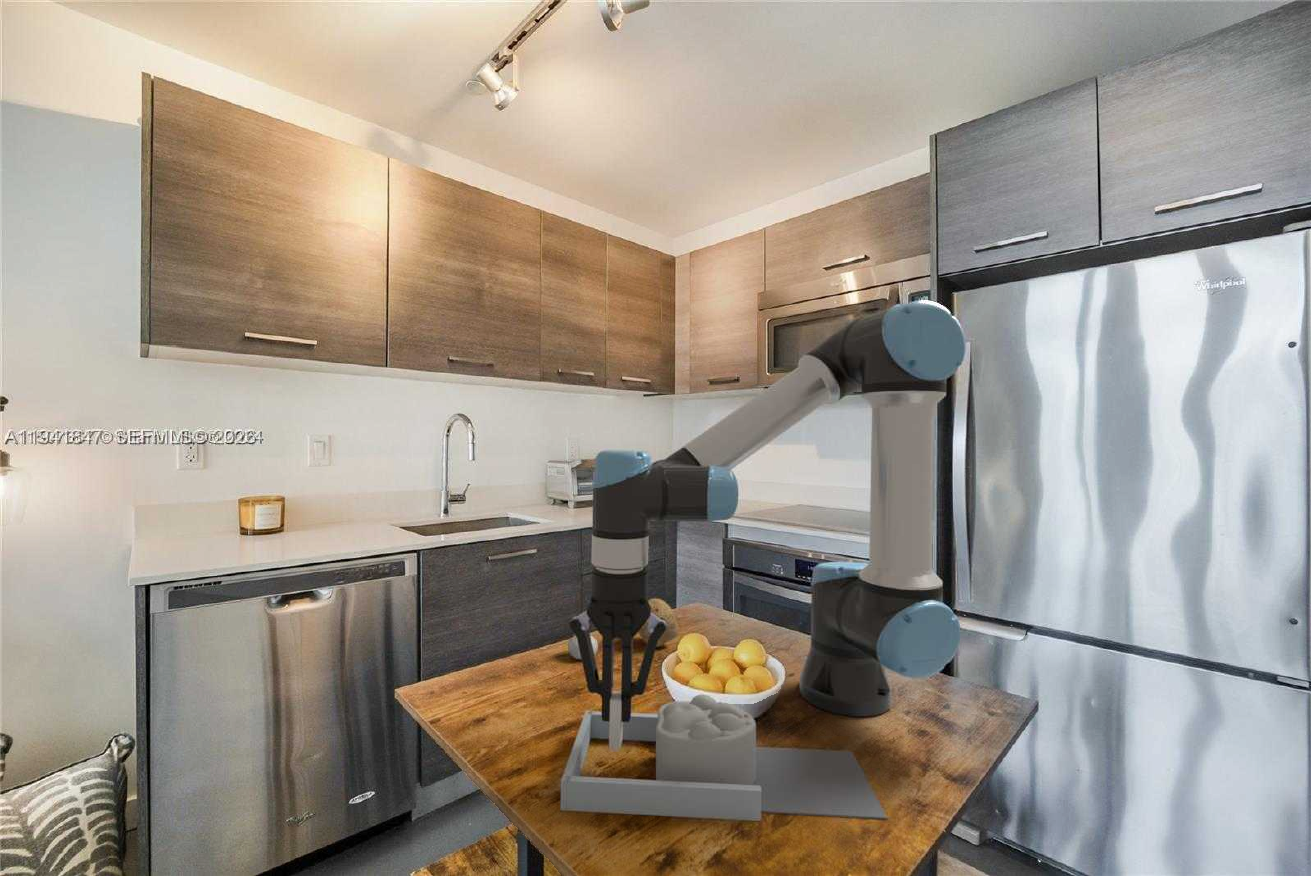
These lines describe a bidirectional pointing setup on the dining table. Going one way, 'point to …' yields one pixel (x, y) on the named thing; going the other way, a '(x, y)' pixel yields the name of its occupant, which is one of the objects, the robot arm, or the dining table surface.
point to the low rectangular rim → (648, 783)
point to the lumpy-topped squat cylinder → (705, 743)
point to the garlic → (574, 647)
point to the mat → (814, 783)
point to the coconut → (661, 611)
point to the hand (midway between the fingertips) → (615, 744)
